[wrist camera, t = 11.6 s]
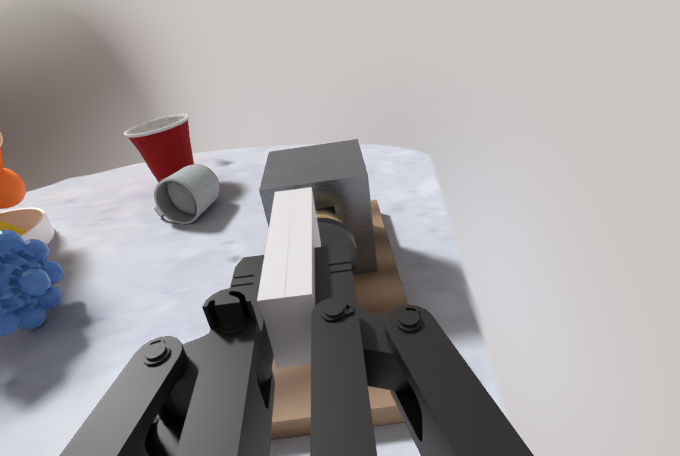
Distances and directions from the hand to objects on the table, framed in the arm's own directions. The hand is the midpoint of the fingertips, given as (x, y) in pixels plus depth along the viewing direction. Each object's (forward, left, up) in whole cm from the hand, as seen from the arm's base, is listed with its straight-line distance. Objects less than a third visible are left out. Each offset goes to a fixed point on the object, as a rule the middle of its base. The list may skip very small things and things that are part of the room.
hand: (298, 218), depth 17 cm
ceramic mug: (+37, +33, -21) cm, 54 cm away
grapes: (+12, +37, -21) cm, 44 cm away
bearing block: (+24, +7, -18) cm, 31 cm away
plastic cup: (+47, +41, -21) cm, 66 cm away
